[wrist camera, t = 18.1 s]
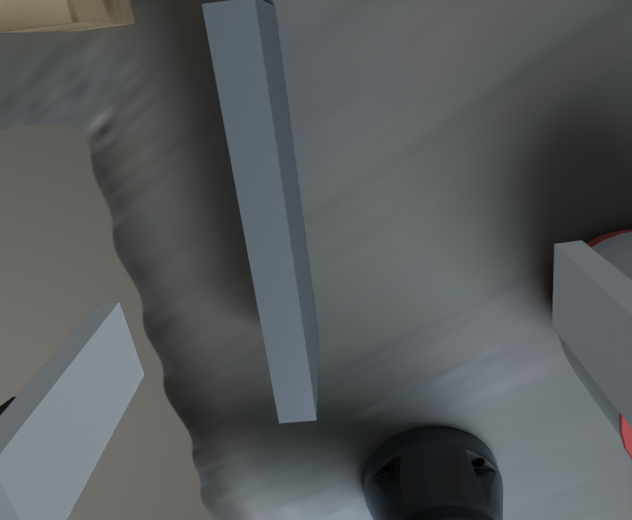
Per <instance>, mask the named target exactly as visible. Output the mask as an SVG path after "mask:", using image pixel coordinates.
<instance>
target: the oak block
mask: <svg viewBox="0 0 632 520" xmlns="http://www.w3.org/2000/svg"><path fill="white" fill-rule="evenodd" d="M130 24H136V23H135V19H134V15H133V10H132V6H131V2H130V0H0V33H8V32H75V31H83V30H91V29H99V28H107V27H115V26H122V25H130Z"/></svg>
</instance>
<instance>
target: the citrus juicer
mask: <svg viewBox="0 0 632 520" xmlns="http://www.w3.org/2000/svg"><path fill="white" fill-rule="evenodd" d="M586 244H587V245H588V246H589V247H591V248H592V249H593V250H594V251H596V252H597V253H598V254H599V255H601V256H602V257H603V258H604V259H606V260H607V261H608V262H609V263H611V264H612V265H613V266H614V267H616V268H617V269H618V270H619V271H621V272H622V273H623V274H624V275H626V276H627V277H628V278H629V279H630V280H632V230H620V231H615V232H610V233H607V234H605V235H602V236H599V237H597V238H595V239H593V240H591V241H590V242H588V243H586ZM552 305H553V299H552ZM558 335H559V334H558ZM559 339H560V342H561V345H562V347H563V350H564V352H565V355H566V357H567V359H568V361H569V363H570V364H571V366H572V368H573V369H574V371H575V373H576V374H577V376H578V377H579V379H580V380H581V382H582V383H583V385H584V386H585V388H586V389H587V391H588V392H589V393H590V395H591V396H592V398H593V399H594V400H595V402H596V403H597V405H598V406H599V407H600V409H601V410H602V411H603V413H604V414H605V416H606V417H607V418H608V420H609V421H610V423H611V424H612V425H613V427H614V428H615V430H616V431H617V432H618V434H619V435H620V437H621V439H622V442H623V446H624V448H625V450H626V451H627V453H628V454H629V456H630V458H631V459H632V428H631V427H630V425H629V424H628V423H627V422H626V420H625V419H624V418H623V416H622V415H621V414H620V413H619V411H618V410H617V409H616V407H615V406H614V405H613V404H612V402H611V401H610V400H609V398H608V397H607V396H606V395H605V393H604V392H603V391H602V389H601V388H600V387H599V386H598V384H597V383H596V382H595V380H594V379H593V378H592V377H591V375H590V374H589V373H588V371H587V370H586V369H585V368H584V366H583V365H582V364H581V362H580V361H579V360H578V359H577V357H576V356H575V355H574V353H573V352H572V351H571V349H570V348H569V347H568V346H567V344H566V343H565V342H564V340H563V339H562V338H561V337H560V335H559Z"/></svg>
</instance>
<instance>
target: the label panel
mask: <svg viewBox="0 0 632 520" xmlns="http://www.w3.org/2000/svg"><path fill="white" fill-rule="evenodd" d="M202 8H203V14H204V19H205V25H206V30H207V36H208V41H209V46H210V52H211V57H212V63H213V68H214V73H215V79H216V84H217V90H218V95H219V101H220V106H221V111H222V117H223V122H224V128H225V133H226V138H227V144H228V149H229V155H230V160H231V166H232V171H233V176H234V182H235V187H236V193H237V198H238V204H239V209H240V214H241V220H242V225H243V231H244V236H245V241H246V247H247V252H248V258H249V263H250V269H251V274H252V279H253V285H254V290H255V296H256V301H257V306H258V312H259V317H260V323H261V328H262V334H263V339H264V344H265V350H266V355H267V361H268V366H269V371H270V377H271V382H272V388H273V393H274V399H275V404H276V409H277V415H278V420H279V423H291V422H304V421H317V392H318V355H319V334H318V326H317V319H316V311H315V304H314V296H313V289H312V281H311V274H310V266H309V259H308V251H307V244H306V236H305V229H304V221H303V214H302V206H301V199H300V191H299V184H298V176H297V169H296V161H295V154H294V146H293V139H292V131H291V124H290V116H289V109H288V101H287V94H286V86H285V79H284V71H283V64H282V56H281V49H280V41H279V34H278V26H277V19H276V11H275V6H274V5H272V4H270V3H267V2H265V1H263V0H228V1H221V2H213V3H206V4H202Z"/></svg>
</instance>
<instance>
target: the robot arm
mask: <svg viewBox="0 0 632 520" xmlns="http://www.w3.org/2000/svg"><path fill="white" fill-rule="evenodd" d="M552 326H553V328H554V329H555V330H556V331H557V333H558V334H559V335H560V337H561V338H562V339H563V340H564V342H565V343H566V344H567V346H568V347H569V348H570V349H571V351H572V352H573V353H574V355H575V356H576V357H577V359H578V360H579V361H580V362H581V364H582V365H583V366H584V368H585V369H586V370H587V371H588V373H589V374H590V375H591V377H592V378H593V379H594V380H595V382H596V383H597V384H598V386H599V387H600V388H601V389H602V391H603V392H604V393H605V395H606V396H607V397H608V398H609V400H610V401H611V402H612V404H613V405H614V406H615V407H616V409H617V410H618V411H619V413H620V414H621V415H622V416H623V418H624V419H625V420H626V422H627V423H628V424H629V425H630V427H631V428H632V280H630V279H629V278H628V277H627V276H626V275H624V274H623V273H622V272H621V271H619V270H618V269H617V268H616V267H614V266H613V265H612V264H611V263H609V262H608V261H607V260H606V259H604V258H603V257H602V256H601V255H599V254H598V253H597V252H596V251H594V250H593V249H592V248H591V247H589V246H588V245H587V244H586V243H584V242H583V241H582V240H580V241H573V242H565V243H558V244H554V278H553V314H552ZM143 377H144V372H143V369H142V366H141V363H140V360H139V357H138V355H137V352H136V349H135V346H134V343H133V340H132V337H131V334H130V331H129V329H128V325H127V323H126V320H125V317H124V314H123V311H122V308H121V305H120V302H114V303H106V304H98V305H95V306H94V307H93V309H92V310H91V311H90V312H89V313H88V314H87V316H86V317H85V318H84V319H83V320H82V321H81V323H80V324H79V325H78V326H77V327H76V328H75V329H74V331H73V332H72V333H71V334H70V335H69V336H68V338H67V339H66V340H65V341H64V342H63V343H62V345H61V346H60V347H59V348H58V349H57V350H56V351H55V353H54V354H53V355H52V356H51V357H50V359H49V360H48V361H47V362H46V363H45V364H44V365H43V367H42V368H41V369H40V370H39V371H38V372H37V374H36V375H35V376H34V377H33V378H32V379H31V381H30V382H29V383H28V384H27V385H26V386H25V388H24V389H23V390H22V391H21V392H20V393H19V394H18V396H17V397H12V398H11V399H10V400H8V401H7V402H5V403H4V404H3V405H1V406H0V520H67V518H68V516H69V514H70V512H71V511H72V509H73V507H74V505H75V503H76V501H77V499H78V498H79V496H80V494H81V492H82V490H83V488H84V486H85V484H86V483H87V481H88V479H89V477H90V475H91V474H92V471H93V470H94V468H95V466H96V464H97V462H98V460H99V459H100V457H101V455H102V453H103V451H104V449H105V448H106V446H107V444H108V442H109V440H110V438H111V436H112V434H113V433H114V431H115V429H116V427H117V425H118V423H119V422H120V420H121V418H122V416H123V414H124V412H125V410H126V409H127V406H128V405H129V403H130V401H131V399H132V397H133V395H134V394H135V392H136V390H137V388H138V386H139V384H140V382H141V381H142V379H143ZM364 488H365V498H366V503H367V507H368V509H369V512H370V514H371V516H372V518H373V520H503V482H502V477H501V474H500V471H499V469H498V466H497V463H496V461H495V458H494V456H493V455H492V453H491V452H490V450H489V449H488V448H487V447H486V446H485V445H484V444H483V443H482V442H481V441H479V440H478V439H477V438H475V437H473V436H471V435H469V434H467V433H464V432H461V431H458V430H454V429H449V428H437V427H433V428H422V429H416V430H412V431H409V432H406V433H403V434H400V435H398V436H396V437H394V438H392V439H391V440H389V441H387V442H386V443H385V444H383V445H382V446H381V447H380V448H379V449H378V450H377V451H376V452H375V453H374V454H373V456H372V457H371V458H370V460H369V462H368V464H367V467H366V469H365V474H364Z"/></svg>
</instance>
